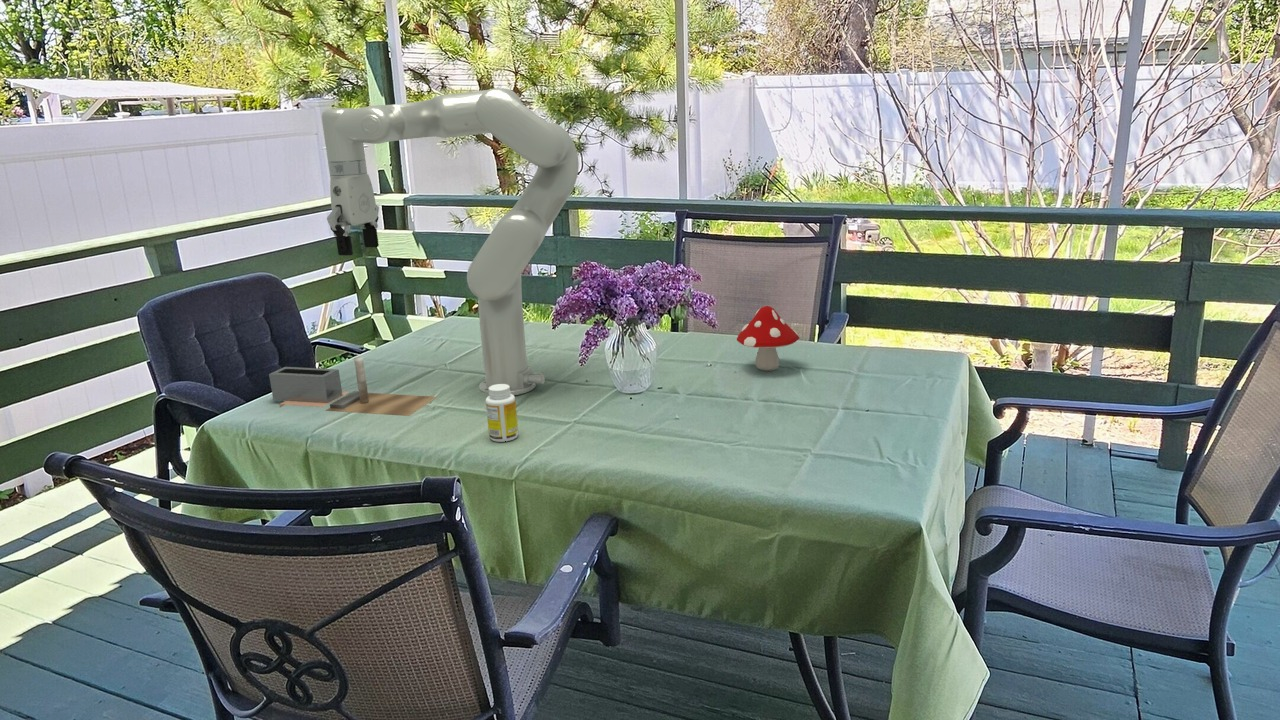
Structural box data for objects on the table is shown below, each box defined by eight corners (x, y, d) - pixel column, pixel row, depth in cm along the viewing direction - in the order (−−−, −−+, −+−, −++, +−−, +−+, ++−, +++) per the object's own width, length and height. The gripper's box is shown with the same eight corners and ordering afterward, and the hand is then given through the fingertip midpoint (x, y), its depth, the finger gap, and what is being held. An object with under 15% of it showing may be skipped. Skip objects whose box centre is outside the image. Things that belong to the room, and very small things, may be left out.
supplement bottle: (519, 431, 174) (514, 381, 171) (518, 441, 169) (513, 390, 166) (490, 433, 174) (485, 383, 171) (488, 444, 169) (483, 392, 166)
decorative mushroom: (794, 359, 211) (795, 297, 207) (803, 377, 198) (804, 311, 194) (734, 362, 212) (733, 300, 207) (740, 379, 199) (739, 314, 194)
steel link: (342, 395, 199) (338, 369, 197) (327, 403, 194) (323, 376, 192) (289, 392, 203) (284, 366, 201) (273, 400, 198) (268, 374, 196)
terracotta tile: (350, 395, 201) (349, 391, 201) (323, 410, 192) (322, 406, 192) (308, 392, 204) (308, 389, 204) (280, 407, 195) (279, 404, 195)
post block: (438, 400, 195) (432, 352, 192) (409, 419, 184) (402, 369, 181) (358, 395, 200) (351, 349, 197) (325, 414, 189) (318, 365, 186)
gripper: (339, 173, 178) (350, 258, 183) (386, 165, 194) (396, 244, 199) (306, 174, 180) (319, 258, 185) (356, 166, 196) (366, 244, 201)
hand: (359, 250), depth 192 cm, fingers open, 9 cm apart
